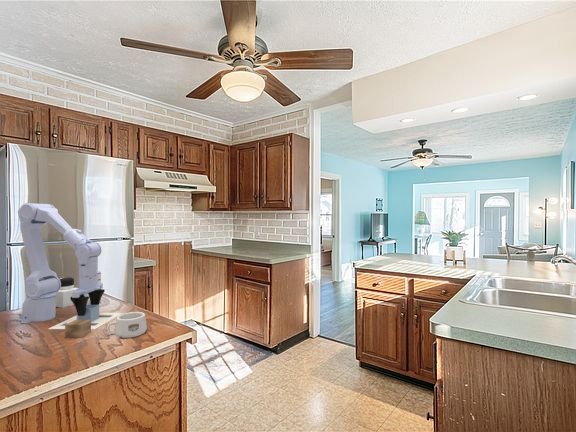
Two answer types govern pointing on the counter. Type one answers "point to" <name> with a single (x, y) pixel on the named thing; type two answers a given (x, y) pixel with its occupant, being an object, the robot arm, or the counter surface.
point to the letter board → (95, 324)
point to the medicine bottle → (65, 292)
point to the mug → (129, 325)
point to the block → (77, 328)
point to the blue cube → (90, 313)
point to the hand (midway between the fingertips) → (88, 312)
